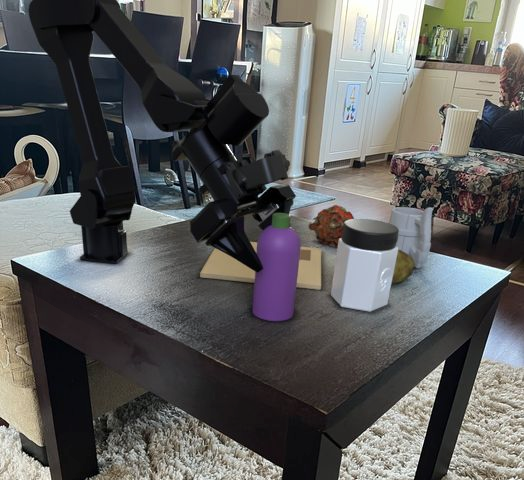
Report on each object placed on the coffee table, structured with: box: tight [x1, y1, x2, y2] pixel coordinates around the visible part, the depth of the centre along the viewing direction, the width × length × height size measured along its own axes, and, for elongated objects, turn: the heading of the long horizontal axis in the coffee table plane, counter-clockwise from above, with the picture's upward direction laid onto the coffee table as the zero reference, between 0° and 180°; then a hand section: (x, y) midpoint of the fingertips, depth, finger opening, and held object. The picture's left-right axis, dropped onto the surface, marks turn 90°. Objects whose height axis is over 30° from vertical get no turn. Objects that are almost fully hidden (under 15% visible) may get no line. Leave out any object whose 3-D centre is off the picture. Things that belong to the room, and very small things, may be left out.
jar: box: [330, 218, 399, 313], centre depth 81 cm, size 9×8×12 cm
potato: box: [391, 249, 415, 285], centre depth 91 cm, size 8×13×8 cm, turn 92°
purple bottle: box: [251, 213, 302, 322], centre depth 75 cm, size 6×6×14 cm
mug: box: [388, 206, 434, 269], centre depth 99 cm, size 8×12×12 cm, turn 17°
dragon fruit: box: [307, 204, 355, 248], centre depth 109 cm, size 8×8×12 cm
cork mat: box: [199, 241, 322, 291], centre depth 96 cm, size 20×20×1 cm
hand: (278, 262), depth 74 cm, fingers open, 9 cm apart
